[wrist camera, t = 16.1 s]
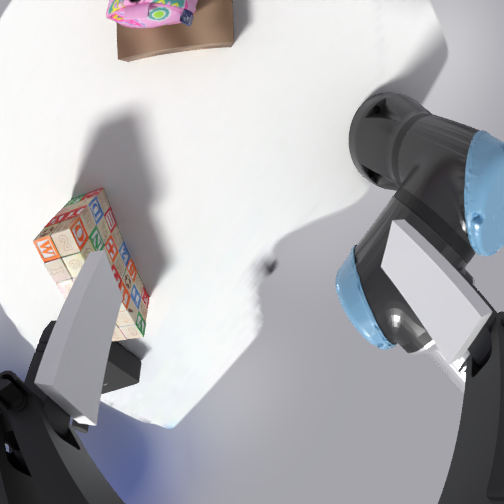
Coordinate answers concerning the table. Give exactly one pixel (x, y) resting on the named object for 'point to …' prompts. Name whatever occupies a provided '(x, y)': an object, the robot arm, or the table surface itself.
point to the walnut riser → (180, 33)
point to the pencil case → (151, 12)
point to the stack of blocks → (89, 240)
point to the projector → (117, 374)
